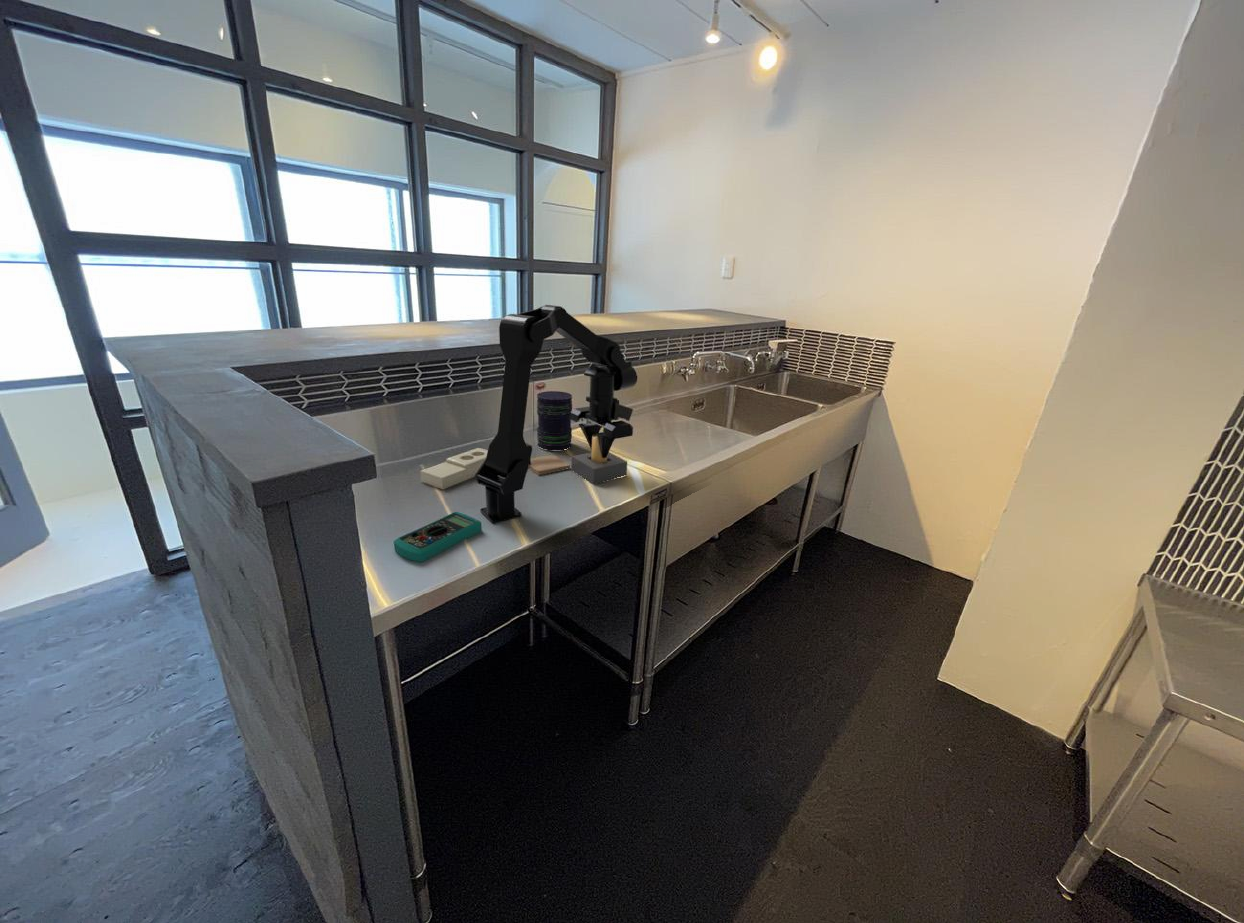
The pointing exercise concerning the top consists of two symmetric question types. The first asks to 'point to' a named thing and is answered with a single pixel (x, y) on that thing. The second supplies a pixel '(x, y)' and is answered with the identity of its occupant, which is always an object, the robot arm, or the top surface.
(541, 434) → the storage jar
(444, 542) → the digital multimeter
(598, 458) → the amber plug
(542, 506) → the top surface
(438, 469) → the electrical outlet
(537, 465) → the tan square tile
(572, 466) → the socket block
